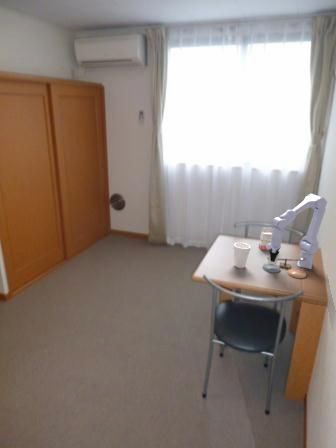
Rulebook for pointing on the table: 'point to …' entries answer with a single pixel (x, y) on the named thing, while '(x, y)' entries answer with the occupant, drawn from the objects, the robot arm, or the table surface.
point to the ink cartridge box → (265, 238)
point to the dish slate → (271, 268)
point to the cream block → (271, 261)
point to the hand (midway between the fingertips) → (272, 259)
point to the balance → (285, 265)
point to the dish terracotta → (296, 273)
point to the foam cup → (241, 254)
